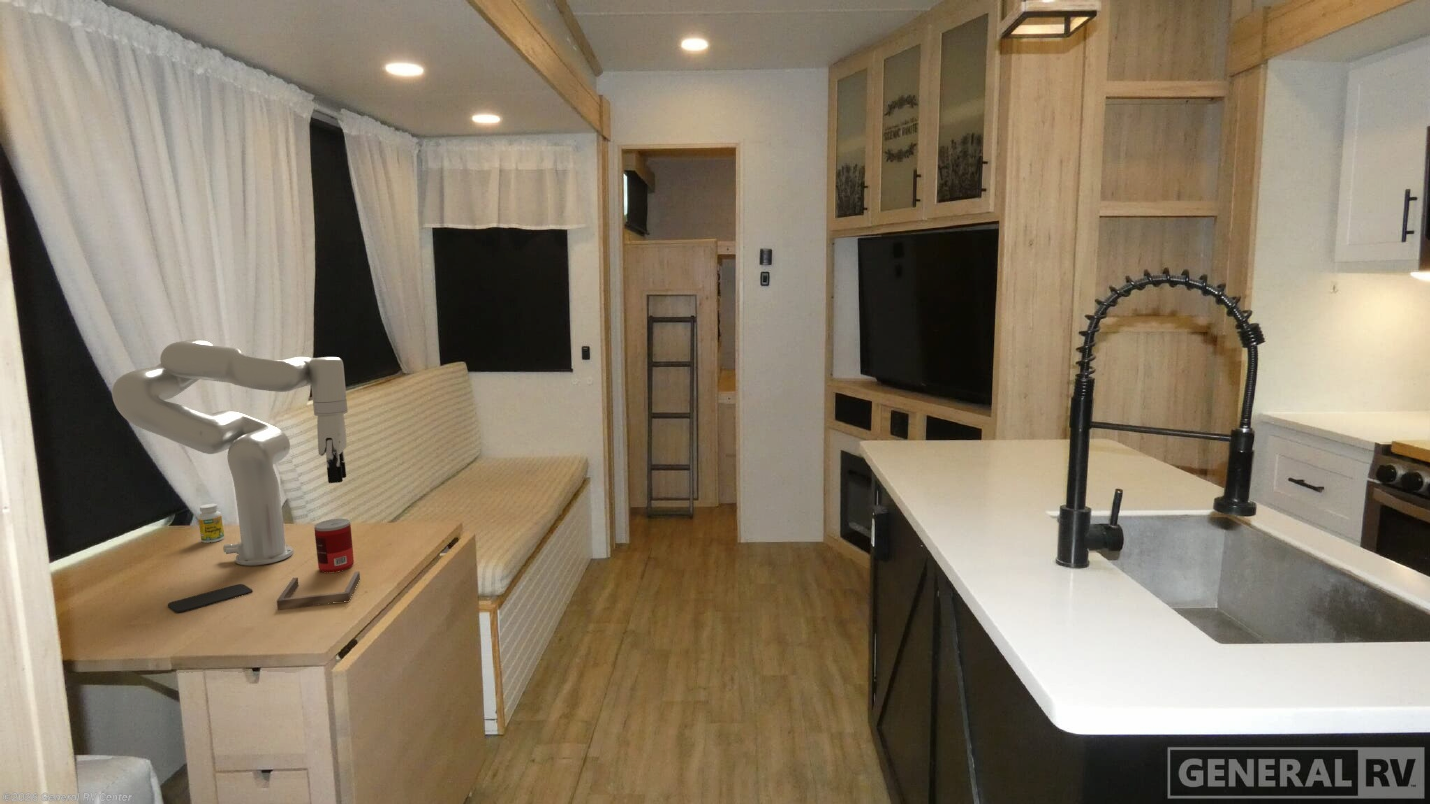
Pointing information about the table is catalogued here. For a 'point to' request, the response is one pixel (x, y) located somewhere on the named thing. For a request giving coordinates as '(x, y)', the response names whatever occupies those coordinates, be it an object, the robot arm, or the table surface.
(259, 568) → the table surface
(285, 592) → the walnut frame
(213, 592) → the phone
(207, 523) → the supplement bottle
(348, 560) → the canned food
